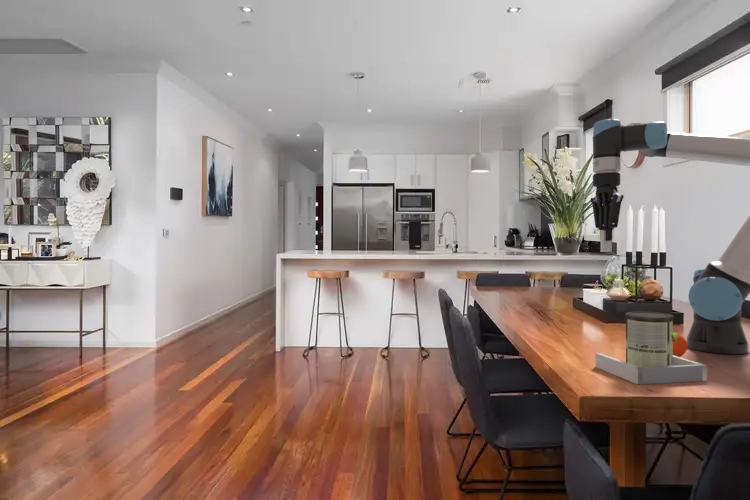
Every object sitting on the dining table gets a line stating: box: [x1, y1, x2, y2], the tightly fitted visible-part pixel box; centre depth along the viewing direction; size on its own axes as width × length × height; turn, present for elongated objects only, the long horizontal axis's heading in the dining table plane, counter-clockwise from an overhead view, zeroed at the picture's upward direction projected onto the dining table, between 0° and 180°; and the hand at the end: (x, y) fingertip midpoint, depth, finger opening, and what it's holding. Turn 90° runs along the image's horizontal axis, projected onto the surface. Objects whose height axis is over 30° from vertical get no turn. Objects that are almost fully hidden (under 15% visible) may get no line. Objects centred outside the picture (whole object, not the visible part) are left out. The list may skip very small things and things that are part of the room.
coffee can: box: [624, 310, 674, 367], centre depth 126 cm, size 10×10×14 cm
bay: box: [594, 352, 708, 385], centre depth 125 cm, size 16×17×4 cm
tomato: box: [673, 332, 688, 358], centre depth 141 cm, size 8×7×7 cm
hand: (606, 251), depth 156 cm, fingers closed
